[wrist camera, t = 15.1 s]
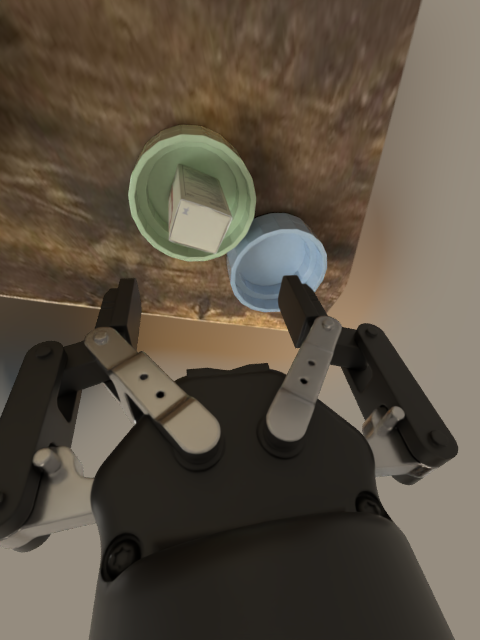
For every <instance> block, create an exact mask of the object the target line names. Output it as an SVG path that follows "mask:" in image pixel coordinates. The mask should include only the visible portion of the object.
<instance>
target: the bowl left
mask: <svg viewBox="0 0 480 640" xmlns="http://www.w3.org/2000/svg"><path fill="white" fill-rule="evenodd" d="M178 164H182V165H185V166H187V167H190V168H192V169H195V170H198V171H200V172H202V173H205V174H207V175H210V176H212V177H214V178H216V179H218V180H219V181H220V184H221V187H222V190H223V193H224V196H225V198H226V201H227V204H228V207H229V209H230V212H231V215H232V221H231V223H230V226H229V228H228V230H227V232H226V234H225V237H224V239H223V241H222V243H221V245H220V247H219V249H218V251H217V253H216V254H213V253H209V252H205V251H201V250H197V249H194V248H190V247H187V246H184V245H180V244H178V243H174V242H171V241H169V209H168V198H169V194H170V189H171V185H172V182H173V178H174V175H175V172H176V169H177V165H178ZM128 198H129V204H130V209H131V214H132V217H133V219H134V221H135V223H136V225H137V227H138V229H139V231H140V232H141V234H142V235H143V236H144V237H145V238H146V239H147V240H148V241H149V242H150V243H151V244H152V245H153V246H154V247H155V248H156V249H158V250H160V251H161V252H163V253H165V254H166V255H168V256H170V257H173V258H177V259H181V260H185V261H207V260H210V259H214V258H217V257H220V256H222V255H224V254H226V253H227V252H229V251H230V250H232V249H233V248H235V247H236V246H237V245H238V244H239V243H240V241H241V240H242V239H243V238H244V237H245V236H246V234H247V232H248V230H249V228H250V226H251V223H252V221H253V219H254V214H255V206H256V194H255V189H254V184H253V179H252V177H251V175H250V173H249V171H248V170H247V168H246V166H245V164H244V162H243V161H242V159H241V157H240V155H239V154H238V152H237V150H236V149H235V148H234V147H233V146H232V145H231V144H230V143H229V142H228V141H227V140H226V139H225V138H224V137H223V136H222V135H220V134H218V133H216V132H214V131H212V130H210V129H207V128H205V127H203V126H197V125H177V126H174V127H171V128H168V129H165V130H162V131H160V132H159V133H158V134H157V135H156V136H154V137H153V138H152V139H151V140H150V141H148V142H147V143H146V144H145V146H144V148H143V149H142V151H141V153H140V155H139V157H138V159H137V161H136V163H135V166H134V169H133V171H132V174H131V179H130V186H129V193H128Z"/></svg>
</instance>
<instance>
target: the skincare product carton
mask: <svg viewBox="0 0 480 640" xmlns="http://www.w3.org/2000/svg"><path fill="white" fill-rule="evenodd" d="M168 209H169V241H171V242H174V243H178V244H180V245H184V246H187V247H190V248H194V249H197V250H201V251H205V252H209V253H213V254H216V253H217V251H218V249H219V247H220V245H221V243H222V241H223V239H224V237H225V234H226V232H227V230H228V228H229V226H230V223H231V221H232V215H231V212H230V209H229V207H228V204H227V201H226V198H225V196H224V193H223V190H222V187H221V184H220V181H219V180H218V179H216V178H214V177H212V176H210V175H207V174H205V173H202V172H200V171H198V170H195V169H192V168H190V167H187V166H185V165H182V164H178V165H177V169H176V172H175V175H174V178H173V182H172V185H171V189H170V194H169V198H168Z"/></svg>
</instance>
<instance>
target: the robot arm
mask: <svg viewBox="0 0 480 640" xmlns="http://www.w3.org/2000/svg"><path fill="white" fill-rule="evenodd" d="M278 306H279V309H280V311H281V314H282V316H283V319H284V321H285V324H286V326H287V329H288V331H289V333H290V336H291V338H292V341H293V343H294V346H295V348H300V349H299V351H298V354H297V355H296V357H295V359H294V361H293V364H292V365H291V368H290V369H289V371H288V374H287V375H286V374H284V373H282V372H279V371H276V370H272V369H269V365H268V363H263V364H262V363H261V364H249V365H246V366H242V367H239V368H236V369H233V370H220V369H212V368H199V369H187V376H185V377H182V378H179V379H177V380H176V381H173V380H172V379H171V378H170V377H169V376H168V375H167V374H166V373H165V372H164V371H163V370H162V369H161V368H160V367H159V366H158V365H157V364H156V363H155V362H154V361H153V360H152V359H151V358H150V357H149V356H148V355H147V354H146V353H145V352H143V351H141V352H139V353H138V352H137V343H138V335H139V327H140V318H141V300H140V295H139V290H138V284H137V280H136V278H128V279H120V282H119V287H118V288H114V289H110V290H109V291H108V292H107V293H106V294H105V295H104V298H103V302H102V305H101V309H100V312H99V316H98V319H97V323H96V326H95V329H94V330H92V331H90V332H89V333H88V334H87V335H86V336H85V339H84V341H81V342H79V343H76V344H72V345H69V346H65V347H63V346H62V344H61V343H59V342H56V341H46V342H42V343H39V344H37V345H35V346H34V347H32V348H31V349H30V350H29V351H28V352H27V354H26V355H25V358H24V360H23V363H22V365H21V368H20V370H19V373H18V375H17V378H16V380H15V383H14V385H13V388H12V390H11V393H10V395H9V398H8V400H7V403H6V405H5V408H4V410H3V412H2V415H1V417H0V546H1V547H3V548H6V549H13V550H15V551H18V552H28V551H31V550H33V549H35V548H37V547H39V546H40V545H42V544H43V542H45V541H46V540H47V539H48V537H49V536H50V534H51V533H56V532H60V531H64V530H69V529H73V528H77V527H81V526H86V525H90V524H94V523H96V524H97V526H98V530H99V535H100V540H101V563H100V569H99V575H98V581H97V587H96V594H95V601H94V608H93V615H92V622H91V629H90V635H89V640H455V639H454V637H453V635H452V633H451V630H450V628H449V626H448V624H447V622H446V620H445V618H444V616H443V614H442V612H441V609H440V607H439V605H438V603H437V601H436V599H435V597H434V595H433V593H432V590H431V588H430V586H429V584H428V582H427V580H426V578H425V576H424V574H423V571H422V569H421V567H420V565H419V563H418V561H417V559H416V557H415V555H414V552H413V550H412V548H411V546H410V544H409V542H408V540H407V538H406V536H405V535H404V534H403V532H402V531H401V530H400V529H399V528H398V527H397V525H396V524H395V523H394V522H393V521H392V520H391V518H390V517H389V515H388V514H387V512H386V511H385V510H384V508H383V506H382V504H381V502H380V499H379V496H378V492H377V487H376V480H375V477H381V476H392V477H393V478H394V479H395V480H397V481H398V482H400V483H402V484H405V485H413V484H415V483H416V482H418V481H419V480H421V479H422V478H424V477H425V476H427V475H428V474H430V473H431V472H433V471H434V470H436V469H437V468H439V467H440V466H442V465H443V464H445V463H446V462H448V461H449V460H451V459H452V458H454V457H455V456H456V455H457V453H458V446H457V443H456V441H455V439H454V437H453V436H452V435H451V433H450V431H449V430H448V428H447V427H446V425H445V424H444V422H443V421H442V419H441V418H440V416H439V415H438V413H437V412H436V410H435V409H434V407H433V406H432V404H431V403H430V401H429V400H428V398H427V397H426V395H425V394H424V392H423V391H422V389H421V387H420V386H419V384H418V383H417V381H416V380H415V379H414V377H413V375H412V374H411V372H410V371H409V370H408V368H407V366H406V365H405V363H404V362H403V360H402V359H401V358H400V356H399V354H398V353H397V351H396V350H395V348H394V347H393V346H392V344H391V342H390V341H389V339H388V338H387V336H386V335H385V333H384V332H383V331H382V330H381V329H380V328H378V327H377V326H375V325H372V324H368V323H367V324H366V323H364V324H361V325H359V327H358V328H357V330H355V329H350V328H344V327H342V326H341V324H340V323H339V321H337V320H336V319H334V318H332V317H329V316H328V315H327V314H326V312H325V310H324V308H323V307H322V305H321V303H320V301H318V298H317V296H316V295H315V293H314V291H313V289H312V288H311V287H309V286H308V285H307V284H302V283H301V281H300V279H299V277H298V276H297V275H284V276H283V278H282V282H281V287H280V291H279V295H278ZM329 365H336V366H341V368H342V370H343V373H344V375H345V377H346V379H347V382H348V384H349V385H350V388H351V390H352V393H353V395H354V397H355V399H356V401H357V403H358V406H359V408H360V410H361V412H362V414H363V417H364V419H365V422H364V423H363V426H362V431H363V435H364V436H363V435H362V434H361V433H360V432H359V431H358V430H357V429H356V428H355V427H354V426H352V425H351V424H350V423H348V422H347V421H346V420H344V419H343V418H342V417H340V416H339V415H338V414H337V413H336V412H334V411H333V410H332V409H330V408H329V407H328V406H326V405H325V404H324V403H323V402H321V401H320V400H319V399H318V395H319V393H320V390H321V387H322V384H323V382H324V379H325V376H326V373H327V370H328V368H329ZM100 383H102V384H103V385H104V386H105V388H106V389H107V390H108V391H109V392H110V394H111V395H112V396H113V397H114V399H115V400H116V401H117V402H118V403H119V405H120V406H121V407H122V409H123V410H124V412H125V414H126V416H127V417H128V419H129V420H130V422H131V423H132V424H133V425H134V426H133V428H132V429H131V430H130V431H129V433H128V434H127V435H126V436H125V437H124V438H123V440H122V441H121V442H120V443H119V444H118V446H117V447H116V448H115V449H114V450H113V452H112V453H111V454H110V455H109V456H108V457H107V459H106V460H105V461H104V462H103V464H102V465H101V466H100V468H99V470H98V471H97V473H96V476H95V478H86V477H84V476H83V465H82V463H81V462H80V460H79V459H78V458H77V456H76V455H75V454H74V452H73V451H72V450H71V444H72V438H73V434H74V429H75V424H76V419H77V413H78V408H79V403H80V398H81V393H82V389H85V388H88V387H91V386H94V385H97V384H100Z"/></svg>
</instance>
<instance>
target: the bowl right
mask: <svg viewBox="0 0 480 640" xmlns="http://www.w3.org/2000/svg"><path fill="white" fill-rule="evenodd" d="M226 265H227V270H228V274H229V278H230V283H231V286H232V289H233V292H234V295H235V296H236V297H237V298H238V299H239V301H240V302H241V303H242V304H244V305H245V306H247V307H249V308H251V309H253V310H257V311H262V312H278V311H280V309H279V306H278V295H279V291H280V287H281V282H282V278H283V276H284V275H297V276H298V277H299V279H300V281H301V283H302V284H307V285H308V286H309V287H311V288H312V289H313V291H314V292H315V291H316V289H317V288H318V287H319V285H320V284H321V282H322V281H323V278H324V275H325V272H326V269H327V254H326V252H325V249H324V247H323V245H322V243H321V242H320V240H319V239H318V238H317V236H316V235H315V234H314V232H313V231H312V230H311V228H310V227H309V226H308V225H307V224H306V223H305V222H304V221H303V220H302V219H300V218H298V217H296V216H293V215H290V214H287V213H270V214H267V215H263V216H260V217H257V218H255V219H253V221H252V223H251V226H250V228H249V230H248V232H247V234H246V236H245V237H244V238H243V239H242V240H241V241H240V243H239V244H238V245H237V246H236V247H235V248H233V249H232V250H230V251H229V252H227V261H226Z"/></svg>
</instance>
